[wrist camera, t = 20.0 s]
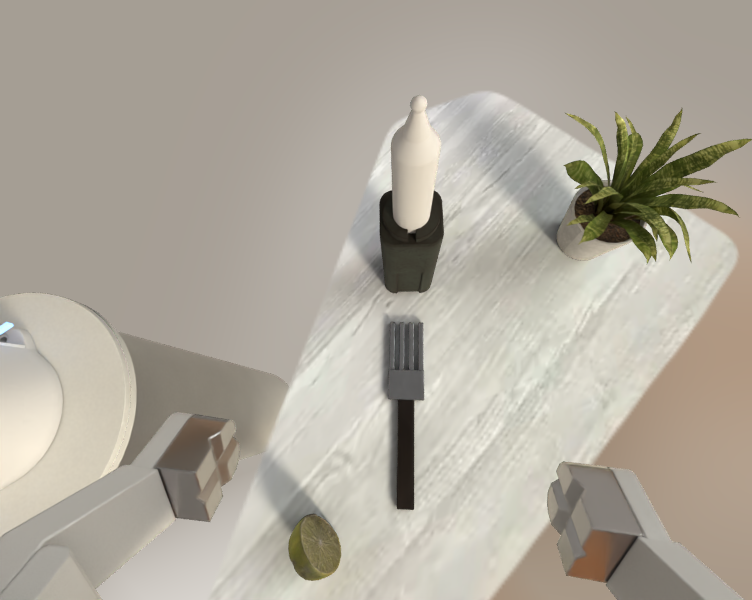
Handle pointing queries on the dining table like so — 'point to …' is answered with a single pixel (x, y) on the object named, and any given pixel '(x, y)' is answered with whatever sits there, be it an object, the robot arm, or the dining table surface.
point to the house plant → (635, 194)
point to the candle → (412, 205)
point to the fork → (406, 409)
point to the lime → (314, 548)
